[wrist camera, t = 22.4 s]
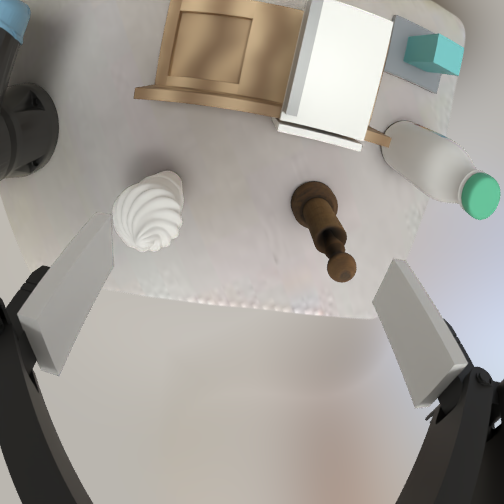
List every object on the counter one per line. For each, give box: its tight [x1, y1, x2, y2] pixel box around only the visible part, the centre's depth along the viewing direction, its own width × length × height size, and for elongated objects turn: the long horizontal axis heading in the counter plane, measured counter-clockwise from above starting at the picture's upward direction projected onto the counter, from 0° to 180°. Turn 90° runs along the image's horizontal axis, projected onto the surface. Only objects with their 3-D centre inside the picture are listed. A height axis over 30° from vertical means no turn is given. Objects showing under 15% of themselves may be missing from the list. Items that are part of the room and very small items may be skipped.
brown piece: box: [134, 0, 392, 148], centre depth 30 cm, size 28×14×10 cm, turn 79°
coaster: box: [383, 15, 441, 94], centre depth 32 cm, size 9×9×1 cm
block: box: [403, 34, 464, 76], centre depth 29 cm, size 4×4×8 cm
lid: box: [272, 0, 393, 152], centre depth 28 cm, size 9×15×11 cm, turn 169°
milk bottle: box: [381, 121, 500, 220], centre depth 32 cm, size 8×8×20 cm
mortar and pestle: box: [291, 181, 356, 282], centre depth 38 cm, size 7×6×18 cm
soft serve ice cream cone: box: [112, 171, 184, 252], centre depth 37 cm, size 8×8×16 cm
